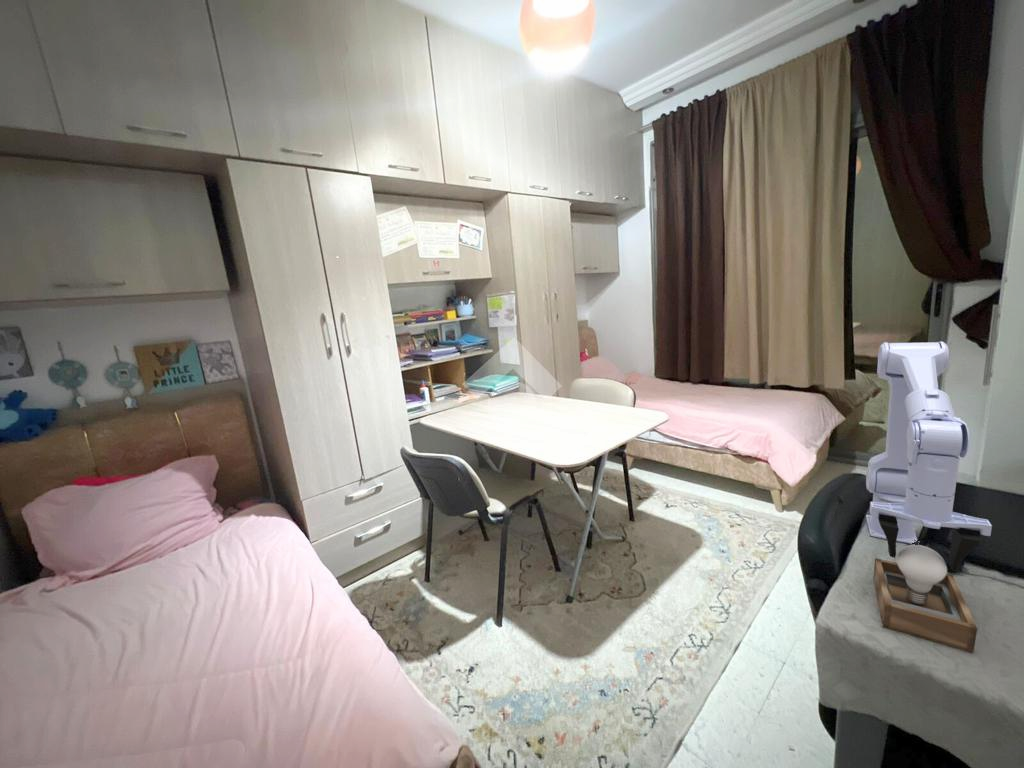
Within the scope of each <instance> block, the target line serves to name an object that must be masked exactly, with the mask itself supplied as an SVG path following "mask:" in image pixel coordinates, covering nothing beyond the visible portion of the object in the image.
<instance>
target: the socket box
mask: <svg viewBox="0 0 1024 768" xmlns="http://www.w3.org/2000/svg"><path fill="white" fill-rule="evenodd" d="M873 565H874V567H873V577H872V580H873V584H874V589H875V594H876V600H877V604H878V609H880V610H879V614H881V615H880V619H882V620H881V625H882V624H883V625H882V628H884V629H887V630H892V631H894V632H897V633H902V634H904V635H908V636H912V637H915V638H919V639H921V640H922V639H923V640H927V641H930V642H934V643H937V644H940V645H943V646H947V647H952V648H955V649H957V650H961V651H965V652H968V653H971V654H974V652H975V644H976V639H977V633H978V627H977V625H976V623H975V620H974V618H973V617H972V614H971V612H970V609H969V607H968V605H967V603H966V601H965V599H964V596H963V594H962V592H961V589H960V587H959V585H958V583H957V581H956V579H955V576H954V574H951V573H948V572H947V574H946V576H945V578H944V579H943V580H942V581H940V582H938V583H936V584H935V585H933V587H932V589H931V590H930V591H929V593H928V599H927V604H924V605H920V604H916V603H913V602H912V601H910V600H909V599H908V598H907V597H906V595H907V586H908V585H907V583H906V580H905V576H904V574H903V573H902V572H901V570H900V569H899V567H898V565H897V561H891V560H887V559H883V558H882V559H881V558H877V557H875V558H874V564H873Z"/></svg>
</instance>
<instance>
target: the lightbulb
mask: <svg viewBox="0 0 1024 768" xmlns="http://www.w3.org/2000/svg"><path fill="white" fill-rule="evenodd" d="M895 558H896V559H895V562H896V563H897V565H898V567H899V569H900V570H901V572H902V573H903V574H904V576H905V580H906V583H907V585H908V586H907V595H906V597H907V598H908V599H909V600H910V601H912V602H913V603H916V604H920V605H924V604H927V599H928V593H929V591H930V590H931V589H932V587H933V585H935V584H936V583H938V582H940V581H942V580H943V579H944V578H945V576H946V574H947V573H948V566H947V562H946V561H945V560H944V558H943V557H942V556H941V554H939V553H938V552H937V551H936V550H934V549H932V548H931V547H928V546H925V545H921V544H918V545H915V544H908V545H906V546H903V547H901V548H900V549H899V550H898V551H897V552H896V556H895Z"/></svg>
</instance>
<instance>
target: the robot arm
mask: <svg viewBox="0 0 1024 768" xmlns="http://www.w3.org/2000/svg"><path fill="white" fill-rule="evenodd" d="M949 358H950V349H949V346H948V344H946V343H945V342H944V341H936V342H931V341H930V342H929V341H928V342H886V341H885V342H883V343H881V344H880V345H879V348H878V354H877V367H876V368H877V369H876V374H877V377H878V379H881V380H884V381H887V383H888V387H889V395H888V396H889V398H888V409H887V410H888V413H887V424H886V425H887V427H886V438H885V451H884V452H882V453H879V454H877V455H874V456H871V457H870V458H869V460H868V462H867V467H866V474H865V486H866V490H867V491H868V492H869V493H872V501H870V502H869V513H870V514H866V515H865V520H866V522H867V527H868V532H869V536H871V537H874V538H880V539H884V540H886V541H887V547H888V549H887V550H888V554H889V557H890V558H896V556H897V542H900V543H905V544H909V545H913V544H912V543H914V542H916V541H917V540H918V538H917V535H916V532H915V523H918V524H921V525H922V526H923V527H925V528H930V529H936V530H940V529H941V527H942V528H948V529H949V528H950V529H951V542H950V548H949V553H948V558H947V564H948V565H949V568H950V570H952V571H958V569H959V567H960V565H961V564H962V562H963V560H964V559H965V558H966V556H968V554H970V553H971V552H972V551H973V550H974V549H976V548H978V547H980V545H981V544H982V542H983V541H982V540H983V539H982V537H981V535H982V536H986V537H991V534H992V527H993V525H992V524H991V522H990V521H989V519H986V518H980V517H975V516H971V515H967V514H963V513H959V512H955V511H953V508H954V501H955V494H956V487H957V479H958V473H959V465H960V458H962V459H963V458H965V457H966V456H967V454H968V451H969V446H970V445H969V444H970V433H969V432H970V431H969V428H968V425H967V423H966V422H965V421H964V420H962V418H961V417H957V416H956V414H955V411H954V407H953V405H952V402H951V401H952V400H951V397H950V396H949V394H948V393H946V392H945V391H943V390H941V389H939V383H938V377H939V376H940V375H941V374H943V373H944V371H946V369H947V368H948V365H949Z"/></svg>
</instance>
